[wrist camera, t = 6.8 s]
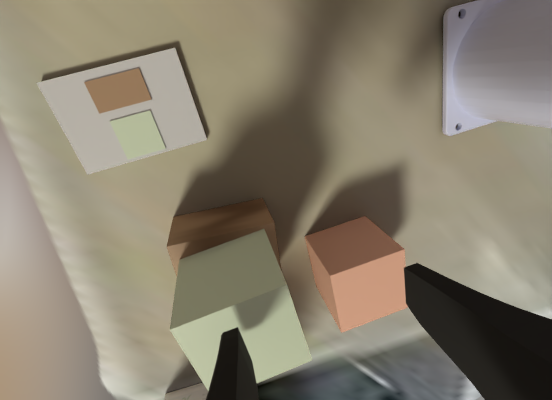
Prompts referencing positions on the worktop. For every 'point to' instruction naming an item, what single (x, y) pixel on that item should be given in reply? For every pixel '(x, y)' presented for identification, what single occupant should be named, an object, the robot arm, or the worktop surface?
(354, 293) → the terracotta block
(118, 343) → the worktop surface
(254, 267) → the sage block
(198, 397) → the syrup box
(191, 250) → the walnut block
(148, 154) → the card
